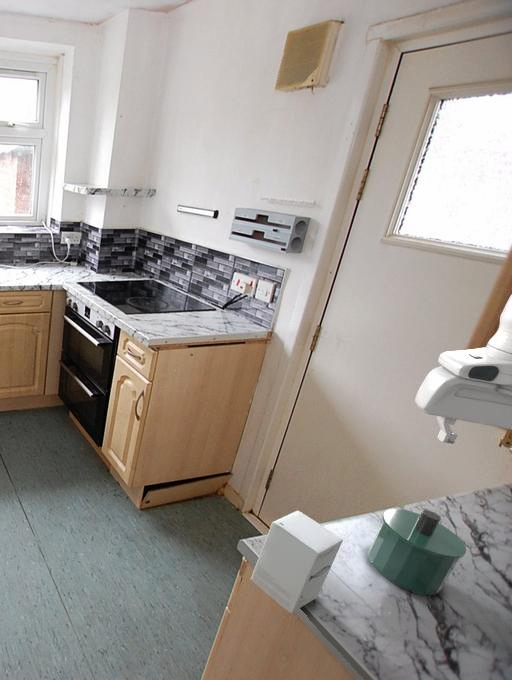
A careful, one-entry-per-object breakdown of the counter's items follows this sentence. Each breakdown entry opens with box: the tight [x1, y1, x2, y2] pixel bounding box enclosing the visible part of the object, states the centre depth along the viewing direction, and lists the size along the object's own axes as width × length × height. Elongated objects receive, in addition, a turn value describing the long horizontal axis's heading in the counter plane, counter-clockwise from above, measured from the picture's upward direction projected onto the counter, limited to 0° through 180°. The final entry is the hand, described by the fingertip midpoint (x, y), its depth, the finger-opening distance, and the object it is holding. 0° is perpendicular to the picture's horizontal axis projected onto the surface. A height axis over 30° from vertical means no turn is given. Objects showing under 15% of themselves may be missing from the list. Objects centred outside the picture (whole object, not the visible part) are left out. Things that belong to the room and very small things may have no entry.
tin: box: [367, 521, 460, 596], centre depth 81 cm, size 10×10×8 cm
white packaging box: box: [250, 510, 344, 615], centre depth 74 cm, size 7×7×13 cm
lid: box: [382, 508, 467, 559], centre depth 78 cm, size 11×11×5 cm
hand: (480, 448), depth 74 cm, fingers open, 8 cm apart
